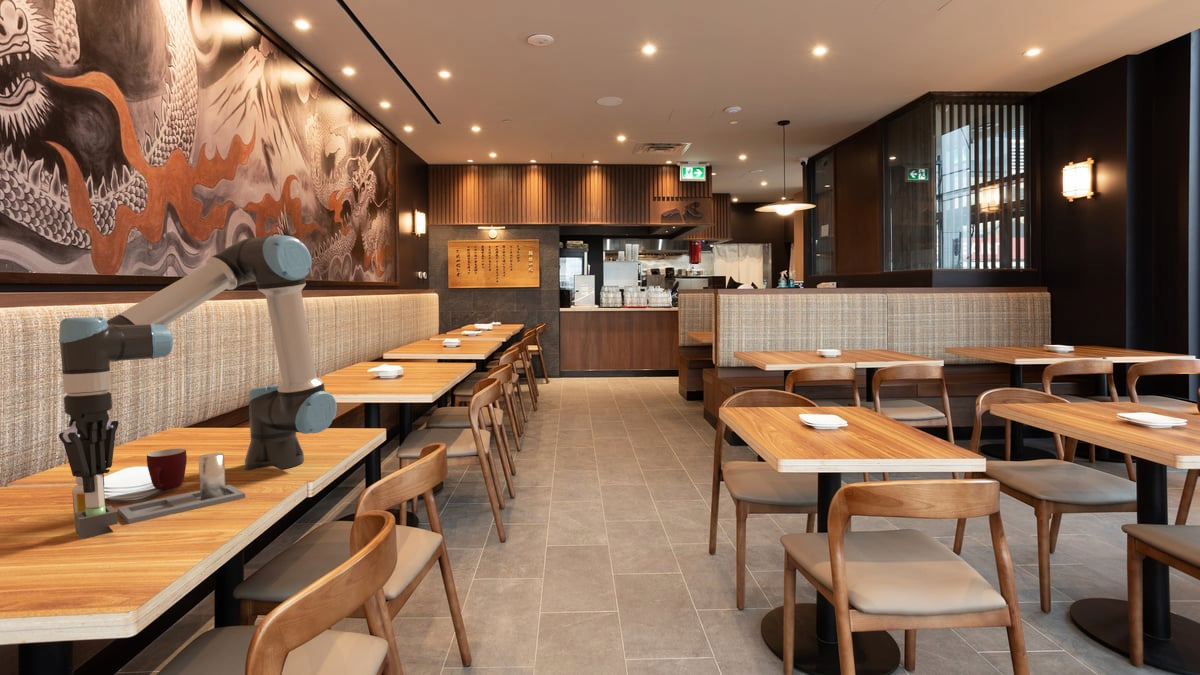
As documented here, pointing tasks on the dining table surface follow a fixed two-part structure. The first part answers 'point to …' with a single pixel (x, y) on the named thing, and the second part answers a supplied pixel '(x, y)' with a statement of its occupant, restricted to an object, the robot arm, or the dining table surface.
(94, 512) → the light green egg
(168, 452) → the mug
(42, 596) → the dining table surface
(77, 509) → the supplement bottle
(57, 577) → the dining table surface
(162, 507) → the grey slotted tray
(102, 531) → the grey square holder
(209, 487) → the seated billet
